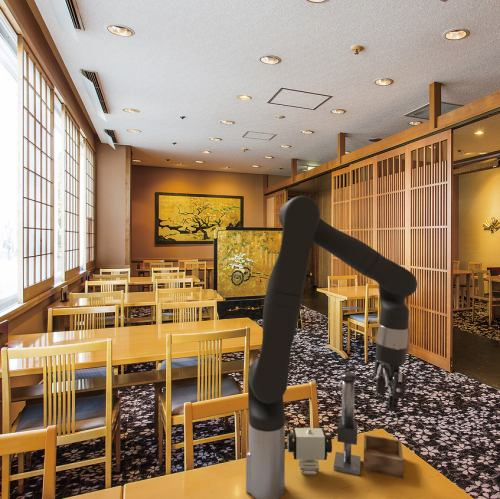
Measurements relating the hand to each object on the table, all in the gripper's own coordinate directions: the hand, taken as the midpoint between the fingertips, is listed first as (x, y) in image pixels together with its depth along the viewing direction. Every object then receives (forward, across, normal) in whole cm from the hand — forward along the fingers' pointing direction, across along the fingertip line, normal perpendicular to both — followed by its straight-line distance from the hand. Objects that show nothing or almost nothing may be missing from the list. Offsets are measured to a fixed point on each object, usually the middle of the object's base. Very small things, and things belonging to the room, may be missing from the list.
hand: (386, 400), depth 95 cm
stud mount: (+21, -4, -8) cm, 23 cm away
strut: (+14, -4, -8) cm, 16 cm away
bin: (+21, -4, +2) cm, 21 cm away
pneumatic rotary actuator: (+22, -1, -19) cm, 29 cm away
